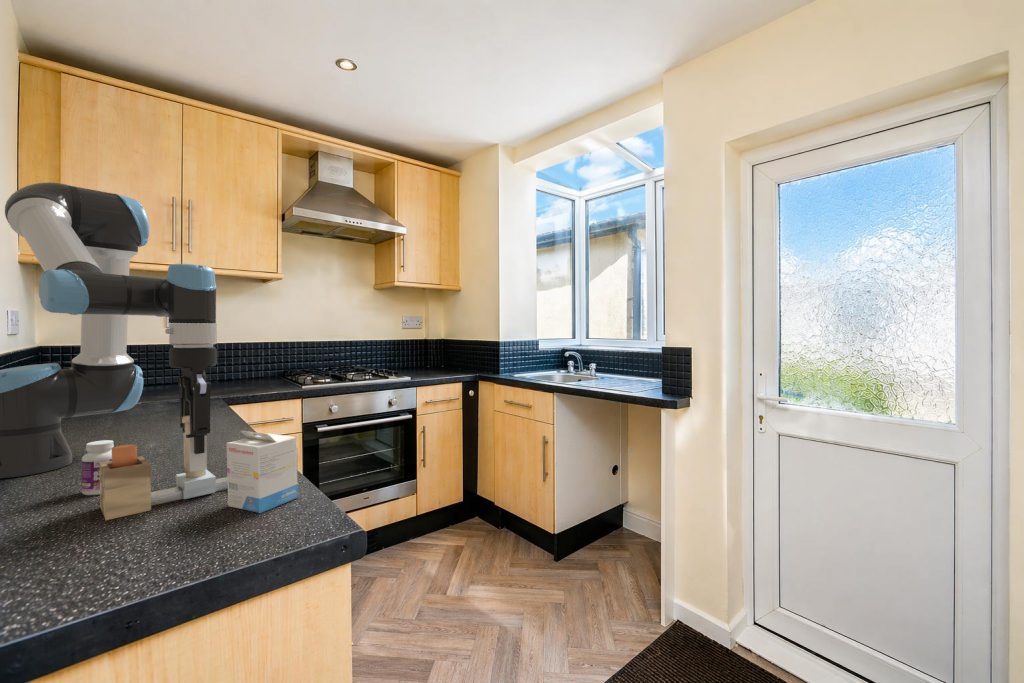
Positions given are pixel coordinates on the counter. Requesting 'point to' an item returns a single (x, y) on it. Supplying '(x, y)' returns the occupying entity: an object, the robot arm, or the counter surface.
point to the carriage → (194, 473)
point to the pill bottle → (94, 465)
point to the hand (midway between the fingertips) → (195, 467)
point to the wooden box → (125, 489)
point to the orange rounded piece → (124, 456)
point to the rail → (181, 492)
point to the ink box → (261, 471)
